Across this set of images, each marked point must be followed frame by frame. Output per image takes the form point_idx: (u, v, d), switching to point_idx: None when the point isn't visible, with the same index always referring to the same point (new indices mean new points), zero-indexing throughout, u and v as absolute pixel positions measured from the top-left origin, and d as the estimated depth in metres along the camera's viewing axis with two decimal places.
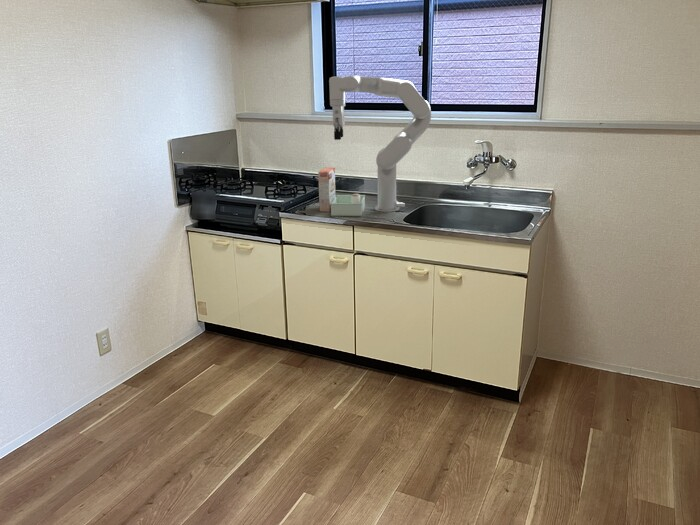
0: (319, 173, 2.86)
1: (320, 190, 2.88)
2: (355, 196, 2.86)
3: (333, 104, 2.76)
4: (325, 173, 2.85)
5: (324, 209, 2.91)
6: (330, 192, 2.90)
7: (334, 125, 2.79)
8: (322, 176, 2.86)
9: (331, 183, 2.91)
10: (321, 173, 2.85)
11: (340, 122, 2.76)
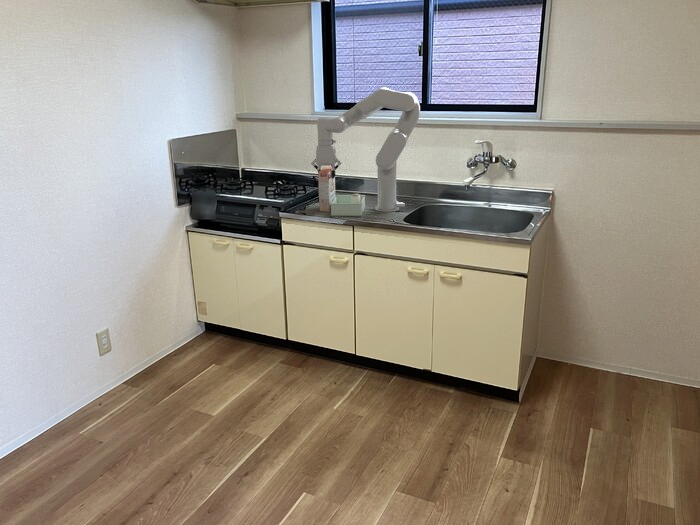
0: (319, 173, 2.86)
1: (320, 190, 2.88)
2: (355, 196, 2.86)
3: (331, 144, 2.85)
4: (325, 173, 2.85)
5: (324, 209, 2.91)
6: (330, 192, 2.90)
7: None
8: (322, 176, 2.86)
9: (331, 183, 2.91)
10: (321, 173, 2.85)
11: None
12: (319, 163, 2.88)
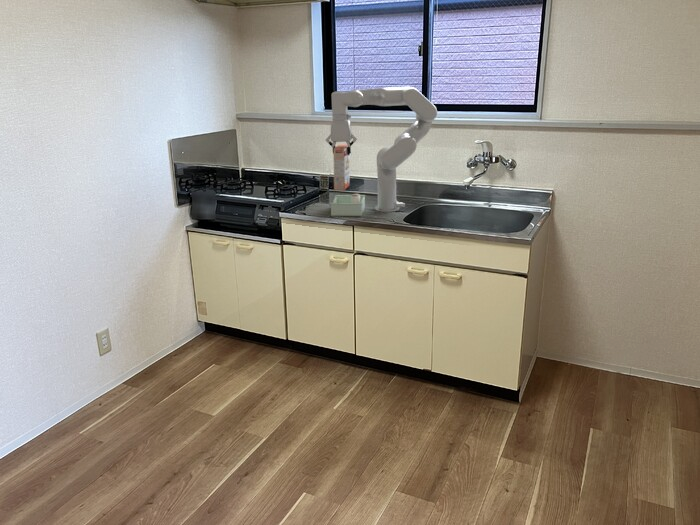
0: (334, 149, 2.75)
1: (335, 167, 2.78)
2: (355, 196, 2.86)
3: (346, 119, 2.74)
4: (340, 149, 2.74)
5: (339, 187, 2.81)
6: (345, 170, 2.79)
7: None
8: (337, 153, 2.75)
9: (346, 160, 2.80)
10: (336, 149, 2.75)
11: None
12: (334, 139, 2.78)
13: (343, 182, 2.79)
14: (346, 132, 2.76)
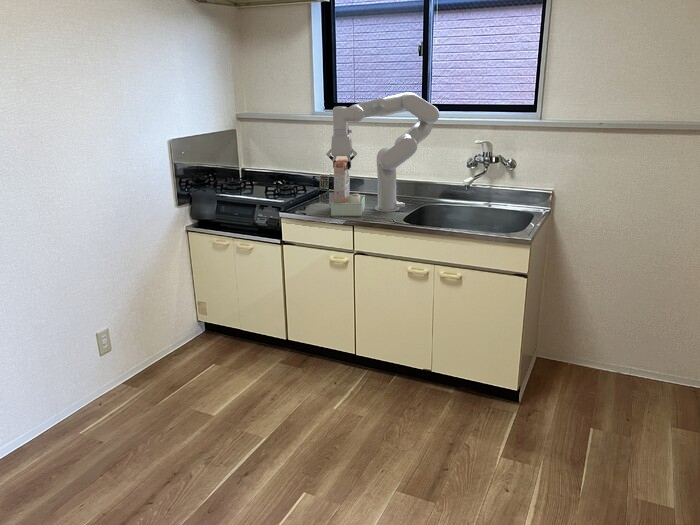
0: (335, 164, 2.77)
1: (335, 181, 2.80)
2: (355, 196, 2.86)
3: (347, 133, 2.76)
4: (341, 164, 2.76)
5: (339, 201, 2.83)
6: (345, 184, 2.82)
7: None
8: (338, 167, 2.77)
9: (346, 174, 2.82)
10: (337, 164, 2.77)
11: None
12: (334, 154, 2.80)
13: (343, 196, 2.82)
14: (347, 147, 2.78)
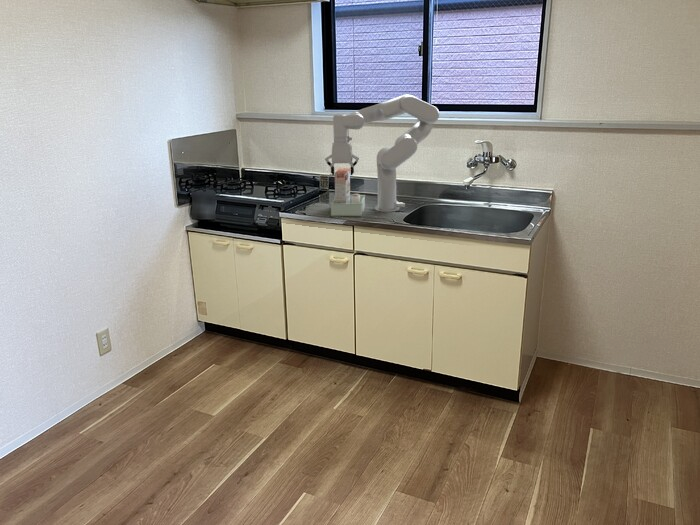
0: (335, 174, 2.79)
1: (336, 191, 2.81)
2: (355, 196, 2.86)
3: (347, 141, 2.77)
4: (342, 174, 2.78)
5: None
6: (346, 193, 2.83)
7: None
8: (339, 177, 2.79)
9: (347, 184, 2.84)
10: (338, 174, 2.78)
11: None
12: (335, 161, 2.81)
13: None
14: (347, 154, 2.79)
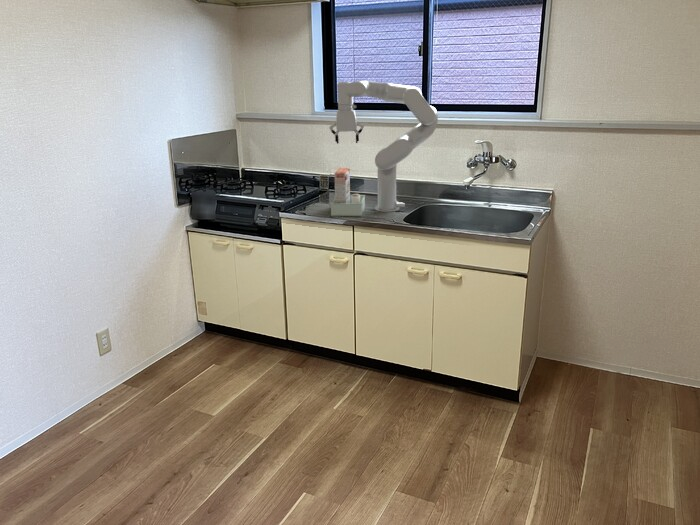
0: (335, 174, 2.79)
1: (336, 191, 2.82)
2: (355, 196, 2.86)
3: (352, 108, 2.79)
4: (341, 174, 2.78)
5: None
6: (346, 193, 2.83)
7: None
8: (338, 177, 2.79)
9: (347, 184, 2.84)
10: (337, 174, 2.79)
11: None
12: (340, 129, 2.82)
13: None
14: (352, 122, 2.80)
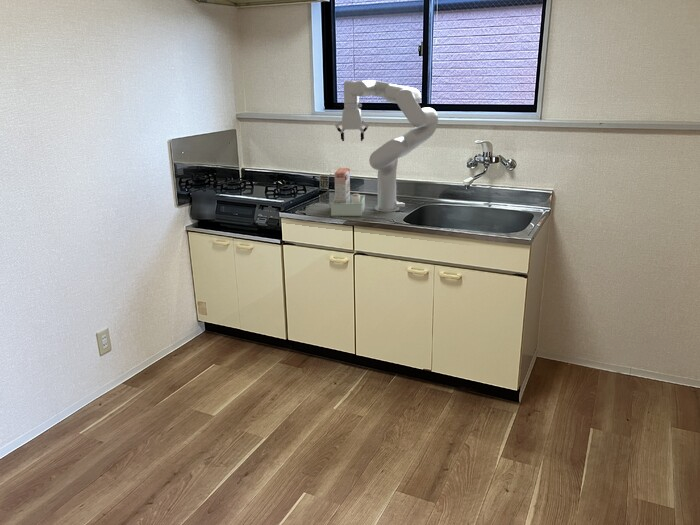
0: (335, 174, 2.79)
1: (336, 191, 2.82)
2: (355, 196, 2.86)
3: (357, 107, 2.84)
4: (341, 174, 2.78)
5: None
6: (346, 193, 2.83)
7: None
8: (338, 177, 2.79)
9: (347, 184, 2.84)
10: (337, 174, 2.79)
11: None
12: (345, 127, 2.88)
13: None
14: (357, 120, 2.86)
